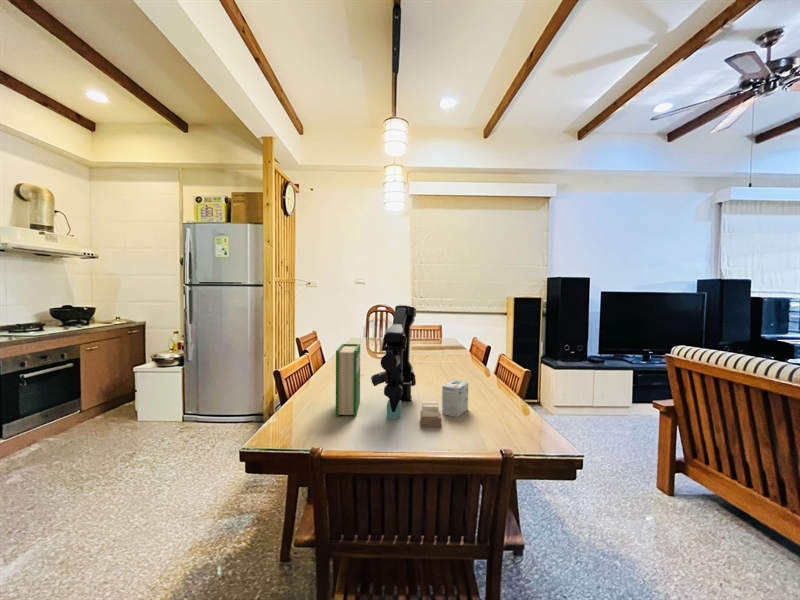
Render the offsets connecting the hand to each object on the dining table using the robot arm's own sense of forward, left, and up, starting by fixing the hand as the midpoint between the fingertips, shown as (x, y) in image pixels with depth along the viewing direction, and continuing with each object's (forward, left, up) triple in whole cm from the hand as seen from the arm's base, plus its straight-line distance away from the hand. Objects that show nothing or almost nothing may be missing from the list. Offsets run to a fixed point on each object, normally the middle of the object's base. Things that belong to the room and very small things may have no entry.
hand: (394, 407), depth 132 cm
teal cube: (0, 0, -3) cm, 3 cm away
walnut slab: (+7, +13, -3) cm, 15 cm away
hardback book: (-6, -18, -3) cm, 19 cm away
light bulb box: (-6, +23, -3) cm, 24 cm away
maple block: (+7, +13, 0) cm, 14 cm away
